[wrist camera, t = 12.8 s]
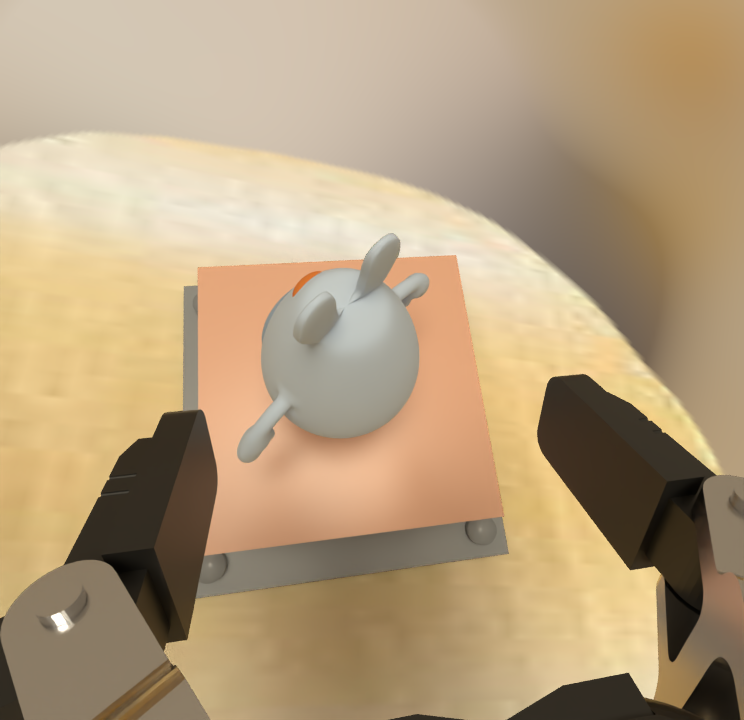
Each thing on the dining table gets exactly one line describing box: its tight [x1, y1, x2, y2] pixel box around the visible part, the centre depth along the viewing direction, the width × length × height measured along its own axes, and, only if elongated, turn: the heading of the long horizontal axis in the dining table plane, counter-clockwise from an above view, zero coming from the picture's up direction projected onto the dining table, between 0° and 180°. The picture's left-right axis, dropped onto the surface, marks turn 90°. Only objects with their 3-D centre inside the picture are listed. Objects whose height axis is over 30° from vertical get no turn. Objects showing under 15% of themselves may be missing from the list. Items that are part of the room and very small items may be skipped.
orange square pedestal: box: [183, 255, 509, 598], centre depth 26 cm, size 20×20×9 cm
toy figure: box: [237, 233, 429, 463], centre depth 16 cm, size 11×6×12 cm, turn 137°
